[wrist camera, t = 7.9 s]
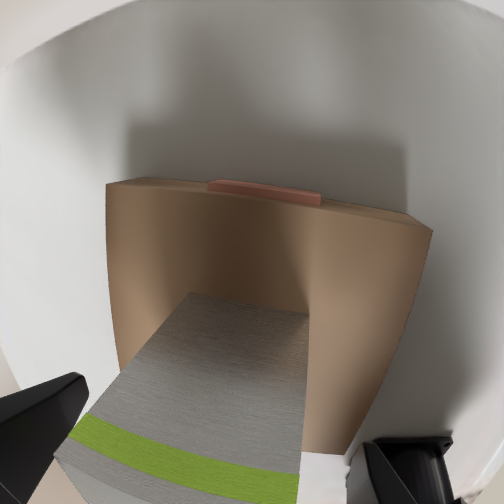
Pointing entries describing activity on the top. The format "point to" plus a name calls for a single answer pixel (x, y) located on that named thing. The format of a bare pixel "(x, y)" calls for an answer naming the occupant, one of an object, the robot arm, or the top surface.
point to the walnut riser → (271, 278)
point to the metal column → (200, 412)
